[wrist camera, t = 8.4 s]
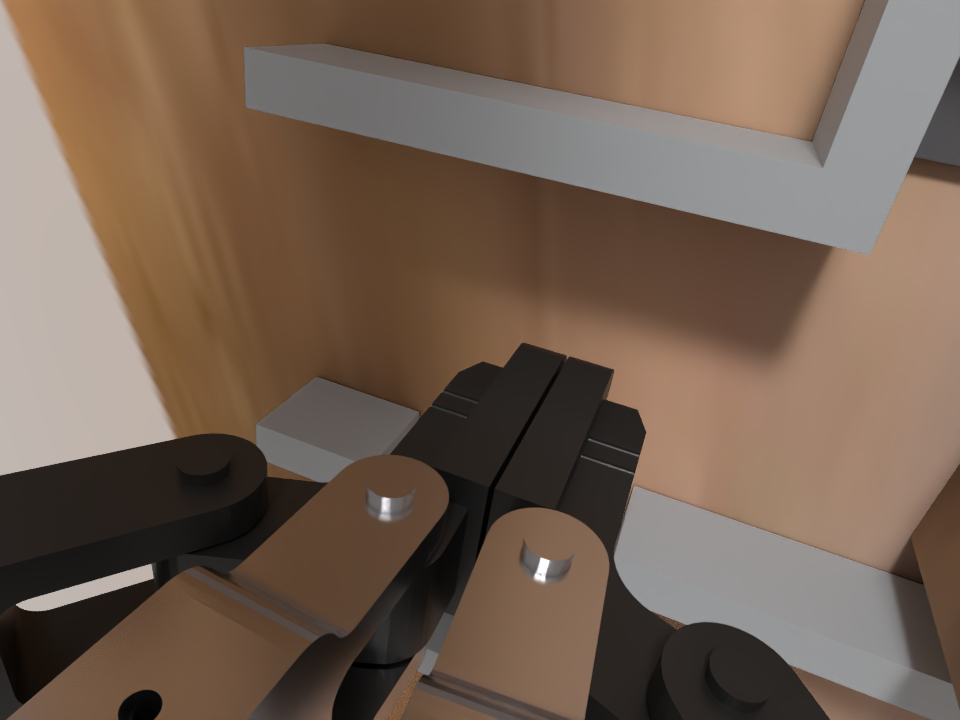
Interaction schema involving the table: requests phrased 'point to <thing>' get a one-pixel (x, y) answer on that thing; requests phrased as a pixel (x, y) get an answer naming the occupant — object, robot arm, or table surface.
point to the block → (943, 570)
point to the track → (699, 190)
